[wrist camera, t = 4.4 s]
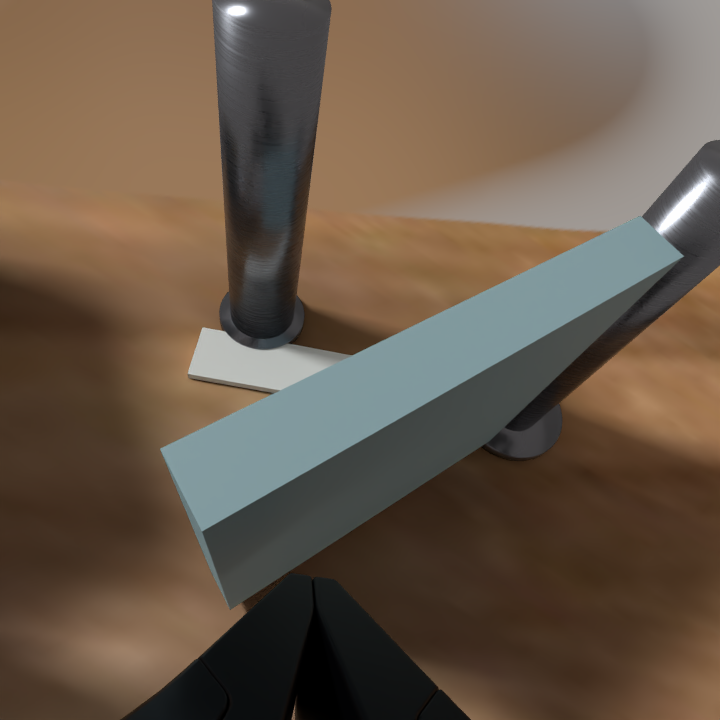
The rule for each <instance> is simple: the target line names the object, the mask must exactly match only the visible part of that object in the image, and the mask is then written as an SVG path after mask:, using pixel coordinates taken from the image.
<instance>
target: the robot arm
mask: <svg viewBox="0 0 720 720" xmlns="http://www.w3.org/2000/svg"><path fill="white" fill-rule="evenodd" d="M294 705H295V720H471V719H470V718H469V717H468V716H467V715H466V714H465V713H464V712H463V711H462V710H461V709H460V708H459V707H458V706H457V705H456V704H455V703H454V702H453V701H452V700H451V699H450V698H449V697H448V696H447V695H446V694H445V693H444V692H443V691H442V690H439V689H438V687H437V686H436V685H435V683H434V682H433V681H432V680H431V679H430V678H429V677H428V676H427V675H426V674H425V673H424V672H423V671H422V670H421V669H420V668H419V667H418V666H417V665H416V664H415V663H414V661H413V660H412V659H411V658H410V657H409V656H408V655H407V654H406V653H405V652H404V651H403V650H402V649H401V648H400V647H399V646H398V645H397V644H396V643H395V642H394V641H393V640H392V638H391V637H390V636H389V635H388V634H387V633H386V632H385V631H384V630H383V629H382V628H381V627H380V626H379V625H378V624H377V623H376V622H375V621H374V620H373V619H372V618H371V617H370V615H369V614H368V613H367V612H366V611H365V610H364V609H363V608H362V607H361V606H360V605H359V604H358V603H357V602H356V601H355V600H354V599H353V598H352V597H351V596H350V595H349V594H348V592H347V591H346V590H345V589H344V588H343V587H342V586H341V585H340V584H339V583H338V582H337V581H336V580H334V579H328V578H321V577H315V578H314V579H313V580H312V578H311V577H310V576H307V575H300V574H294V573H291V574H289V575H288V576H287V577H285V578H284V579H283V580H282V581H281V582H280V583H279V584H278V585H277V586H276V587H275V588H274V589H272V590H271V591H270V592H269V593H268V594H267V595H266V596H265V597H264V598H263V599H262V600H261V601H259V602H258V603H257V604H256V605H255V606H254V607H253V608H252V609H251V610H250V611H249V612H247V613H246V614H245V615H244V616H243V617H242V618H241V619H240V620H239V621H238V622H237V623H236V624H234V625H233V626H232V627H231V628H230V629H229V630H228V631H227V632H226V633H225V634H224V635H223V636H221V637H220V638H219V639H218V640H217V641H216V642H215V643H214V644H213V645H212V646H211V647H209V648H208V649H207V650H206V651H205V652H204V653H203V654H202V655H201V656H200V657H199V658H198V659H196V660H194V661H193V662H192V663H191V664H190V665H189V666H188V667H187V668H186V669H184V670H183V671H182V672H181V673H180V674H179V675H178V676H176V677H175V678H174V679H173V680H172V681H171V682H169V683H168V684H167V685H166V686H165V687H164V688H162V689H161V690H160V691H159V692H157V693H156V694H155V695H153V696H152V697H151V698H149V699H148V700H147V701H145V702H144V703H143V704H141V705H140V706H139V707H137V708H136V709H135V710H133V711H132V712H131V713H129V714H128V715H126V716H125V717H124V718H122V719H121V720H291V719H292V715H293V710H294Z"/></svg>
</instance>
